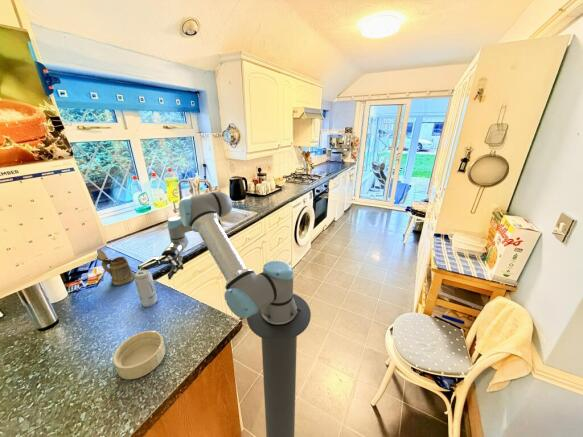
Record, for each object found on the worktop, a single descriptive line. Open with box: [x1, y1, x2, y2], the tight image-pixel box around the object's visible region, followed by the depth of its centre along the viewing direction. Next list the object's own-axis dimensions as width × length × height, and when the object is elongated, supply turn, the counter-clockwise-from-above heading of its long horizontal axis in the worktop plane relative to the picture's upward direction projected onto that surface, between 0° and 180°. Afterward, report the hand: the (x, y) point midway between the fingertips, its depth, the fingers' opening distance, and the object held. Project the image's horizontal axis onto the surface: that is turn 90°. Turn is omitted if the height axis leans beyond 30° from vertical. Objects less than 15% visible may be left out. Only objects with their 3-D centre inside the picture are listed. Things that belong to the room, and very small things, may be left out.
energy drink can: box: [133, 269, 158, 308], centre depth 97 cm, size 6×6×15 cm
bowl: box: [112, 330, 166, 380], centre depth 74 cm, size 13×13×6 cm
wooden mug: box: [96, 249, 135, 286], centre depth 110 cm, size 9×14×18 cm, turn 105°
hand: (152, 277), depth 103 cm, fingers open, 13 cm apart
